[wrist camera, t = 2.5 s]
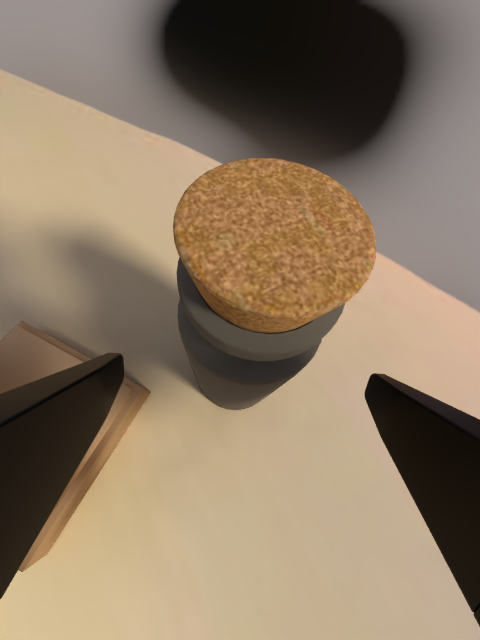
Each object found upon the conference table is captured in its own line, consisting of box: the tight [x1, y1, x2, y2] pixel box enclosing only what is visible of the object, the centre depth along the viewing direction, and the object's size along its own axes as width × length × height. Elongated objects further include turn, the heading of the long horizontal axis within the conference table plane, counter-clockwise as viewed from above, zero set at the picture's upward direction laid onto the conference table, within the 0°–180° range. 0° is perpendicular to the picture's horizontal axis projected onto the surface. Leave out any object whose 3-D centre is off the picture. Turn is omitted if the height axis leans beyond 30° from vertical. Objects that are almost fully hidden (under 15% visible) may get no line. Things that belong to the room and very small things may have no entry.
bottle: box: [173, 158, 376, 410], centre depth 12 cm, size 6×6×15 cm
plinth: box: [0, 321, 150, 572], centre depth 16 cm, size 10×10×2 cm
